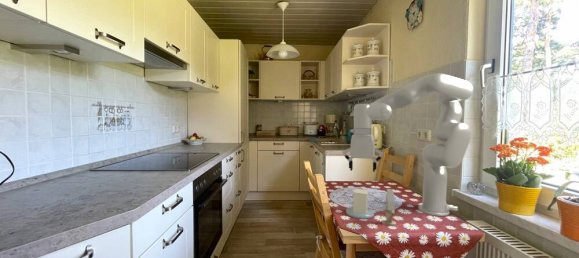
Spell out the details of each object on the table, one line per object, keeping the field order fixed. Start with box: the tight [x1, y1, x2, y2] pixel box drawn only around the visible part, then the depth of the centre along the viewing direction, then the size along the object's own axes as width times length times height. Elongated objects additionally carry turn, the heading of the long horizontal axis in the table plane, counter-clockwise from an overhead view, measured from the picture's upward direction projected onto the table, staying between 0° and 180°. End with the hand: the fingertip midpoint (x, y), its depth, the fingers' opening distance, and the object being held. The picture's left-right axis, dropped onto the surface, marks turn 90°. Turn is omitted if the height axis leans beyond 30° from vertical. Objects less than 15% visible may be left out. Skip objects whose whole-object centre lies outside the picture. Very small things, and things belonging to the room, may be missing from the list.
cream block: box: [352, 188, 369, 214], centre depth 117 cm, size 6×6×9 cm
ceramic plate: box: [345, 206, 375, 220], centre depth 118 cm, size 12×12×1 cm
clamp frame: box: [381, 188, 397, 227], centre depth 113 cm, size 5×17×10 cm, turn 161°
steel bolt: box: [386, 189, 396, 212], centre depth 99 cm, size 2×16×3 cm, turn 161°
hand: (362, 170), depth 117 cm, fingers open, 9 cm apart
